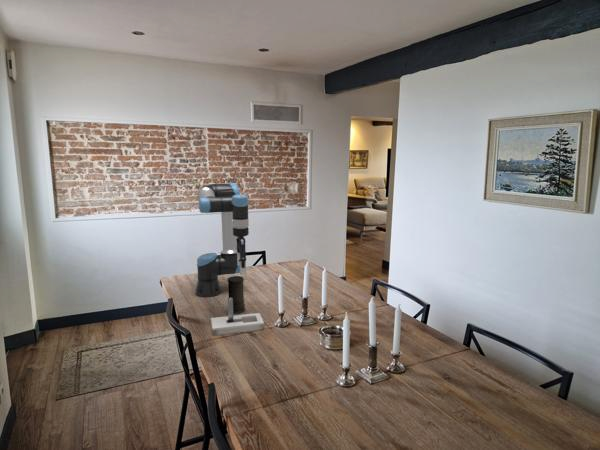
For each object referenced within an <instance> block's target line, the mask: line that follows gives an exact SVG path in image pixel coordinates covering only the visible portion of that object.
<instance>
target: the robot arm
mask: <svg viewBox="0 0 600 450" xmlns="http://www.w3.org/2000/svg"><path fill="white" fill-rule="evenodd" d="M196 196H197V200H198V210H199V212H200V213H201V214H213V213H221V214H220V216H221V234H222V237H221V239H222V250H221V251H220V255H218V254H217V253H216V252H208V253H204V254H201V255H199V256H198V257H197V260H196V266H197V268H196V269H197V283H196V287H195V292H194V293H195V295H196V296H197V297H203V298H211V297H215V296H218V295H220V294H222V286H221V284H220V281H219V276H224V275H236V274H240V275H246V274H247V264H246V263H247V253H246V252H247V251H246V250H247V249H246V238H245V237H247V236H249V233H250V232H249V230H250V228H249V225H250V224H249V221H250V220H249V219H250V218H249V197H248V195H246V194H241V193H240V188H239V186H238V184H236V183H211V184H207V185H204V186H202V187H200V188H199V189H198V191H197V194H196Z"/></svg>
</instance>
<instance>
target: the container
mask: <svg viewBox="0 0 600 450" xmlns="http://www.w3.org/2000/svg"><path fill="white" fill-rule="evenodd" d="M244 279H245V278H244V277H243V276H240V275H235V276H233V275H231V276H229V277H228V278H227V284H228V298H229V297H232V298H233V315H239V314H243V313H245V310H246V307H245V299H244V294H245V293H244Z"/></svg>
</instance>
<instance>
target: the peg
mask: <svg viewBox="0 0 600 450" xmlns="http://www.w3.org/2000/svg"><path fill="white" fill-rule="evenodd" d="M227 316H228V323H233V322H234V321H233V316H234V314H233V298H232V297H229V296H228V297H227Z"/></svg>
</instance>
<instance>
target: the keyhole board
mask: <svg viewBox="0 0 600 450" xmlns="http://www.w3.org/2000/svg"><path fill="white" fill-rule="evenodd" d="M233 321H234V322H233V323H228V315H227V316H220V317H219V316H217V317H211V318H210V323H211V324H210V326H211V332H212V336H221V335H229V334H230V335H231V334H237V333H238V334H239V333H244V332H246V333H247V332H254V331H261V330H263V331H264V329H265V322H264V320H263V318H262V315H261V313H260V312H253V313H246V314H245V313H244V314H234V315H233Z"/></svg>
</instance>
